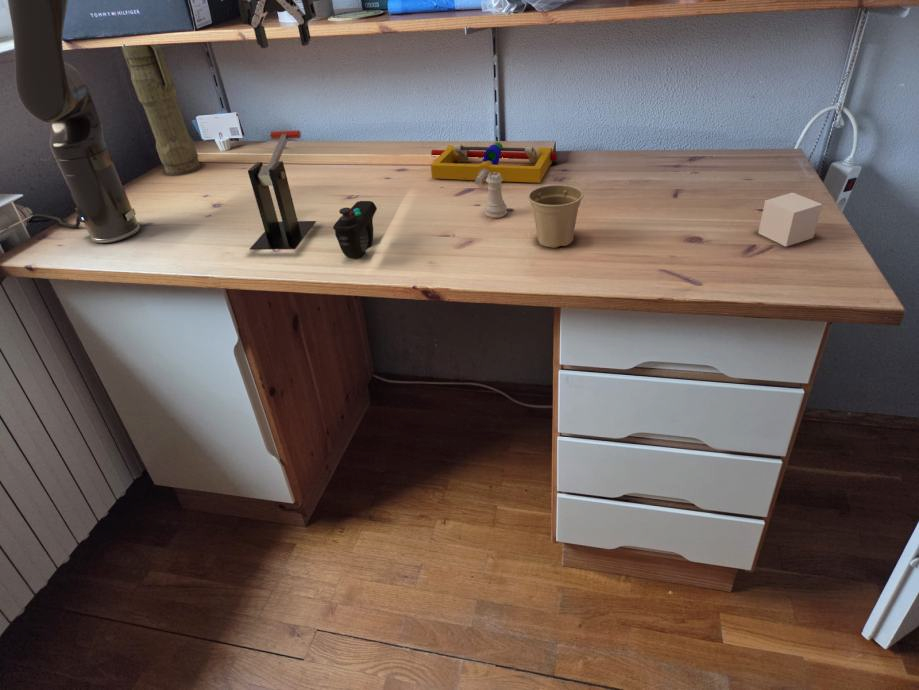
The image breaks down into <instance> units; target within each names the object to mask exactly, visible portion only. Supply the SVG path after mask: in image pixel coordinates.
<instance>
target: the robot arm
mask: <svg viewBox="0 0 919 690" xmlns="http://www.w3.org/2000/svg"><path fill="white" fill-rule="evenodd" d="M255 1H256V3H257V5H256V7H255V10H254V13H252V7H251V0H237V3H238V8H239V14H240V18H241V23H242V24H243V25H248V26H251V27H252V28H253V31H254V36H255V39H256V43H257V45H258V46H259V47H260V48H261V49H266V48H269V43H268V38H267V33H266V29H265V26H264V25H263V23H264V21H265V18H266V16H267V15H268V14H272V13H275V12H276V13H285V12H286V13H288V14H289V16H291V17H293V18H294V20H295V21H296V22H297V23H298V25H297V29H298V34H299V39H300V42H301V46H302V47H306V46H308V45H309V44H310V42H311V33H310V28H309V22H310V21H311V20H313V19H315V18H317V14H316V9H315V5H314V0H301V3H302V8H303V10H302V9H301V6H300V5H299V4H298V3H297V2H296V1H295V0H255ZM68 3H69V0H7V5H8V10H9V17H10V22H11V28H12V36H13V47H14V48H13V49H14V50H13V52H14V79H15V80H14V82H15V90H16V94H17V96H18V99H19V102H20V103H21V105H22V106H23V108H24V109H25V110H26V112H28V113H29V114H30V115H31V116H32V117H34V118H35V119H37V120H39V121H41V122H45V123H49V127H50V137H49V148H50V150H51V153H52V155H53V157H54V158H55V160H56V164H57V166H58V169H60V172H61V175H62V176H63V179H64V181H65V182H66V185H67V187H68V189H69V191H70V196H71V199H72V201H73V202H74V205H75V206H76V207H75V208H74V211H75V213H76V215H77V216H76V219H75V224H70V223H68V222H64V220H63V219H62V218H61V217H57V216H53V215H49V214H41V213H36V214H32V215H33V217H32V218H31V219H30V220H29V222H28V223H31V222H32V220H34V219H38V218H39V219H46V220H52V221H57V222H58V223H59V224H60V225H61V226H64V227H65V228H69V229H78V228H79V227H80V225H81V223H83V224H84V226H85V229H86V231H87V232H88V234H89V237H90V238H91V241H93V242H94V243H98V244H108V243H115V242H120V241H123V240H125V239H128V238H131V237H132V236H134V235H136V234H137V233H138V232H139V231H140V230H141V225H140V223H139V221H138V220H137V217H136V215H137V213H136V210H135V208H134V207H132V204H131V202H130V199H129V198H128V195H127V192H126V190H125V188H124V185H123V182H122V180H121V178H120V175H119V173H118V171H117V169H116V165H115V164H114V161H113V158H112V157H111V153H110V152H109V149H108V147H107V144H106V141H105V139H104V129H103V128H104V127H103V124H102V121H101V117H100V115H99V113H98V111H97V107H96V104H95V102H94V99H93V96H92V94H91V91H90V90H89V89H90V88H89V87H88V84H87V82H86V81H85V79H84V78H83V75H81V73H80V72H79V71H78V70H77V69H76V68H75V67H73V66H72V65H71V64H69V63H68V62H65V56H64V48H63V35H64V27H65V21H66V15H67V9H68Z"/></svg>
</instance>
